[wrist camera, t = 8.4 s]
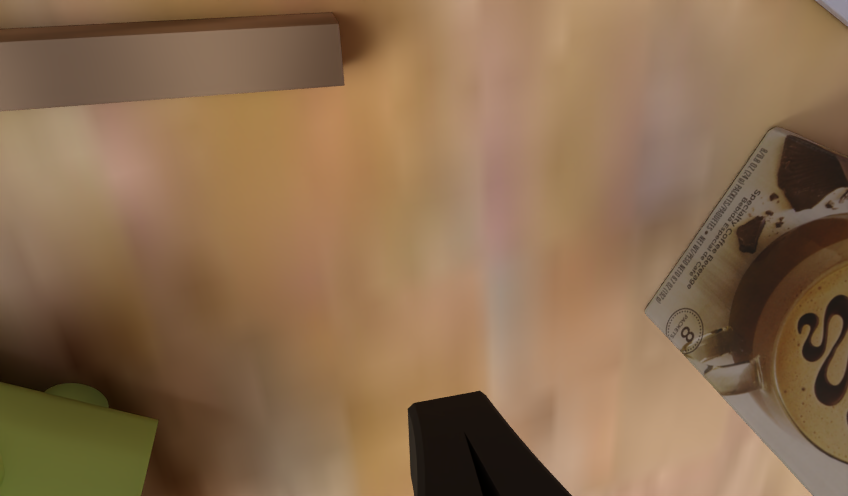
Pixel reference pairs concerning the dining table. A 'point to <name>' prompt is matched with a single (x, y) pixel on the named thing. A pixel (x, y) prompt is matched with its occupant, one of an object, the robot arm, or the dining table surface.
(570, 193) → the dining table surface
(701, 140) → the dining table surface
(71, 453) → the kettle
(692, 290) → the coffee box
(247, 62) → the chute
